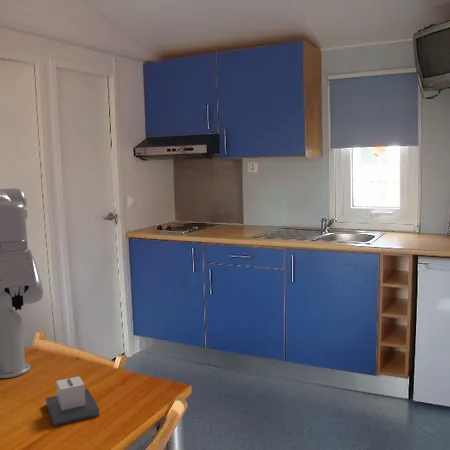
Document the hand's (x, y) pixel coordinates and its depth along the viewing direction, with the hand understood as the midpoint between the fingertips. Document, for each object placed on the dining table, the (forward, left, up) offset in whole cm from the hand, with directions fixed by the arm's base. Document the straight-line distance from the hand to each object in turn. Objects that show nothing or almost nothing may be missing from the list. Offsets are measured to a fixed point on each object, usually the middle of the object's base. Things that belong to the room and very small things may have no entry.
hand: (18, 308), depth 151 cm
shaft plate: (+15, +11, -27) cm, 33 cm away
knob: (+15, +11, -25) cm, 31 cm away
